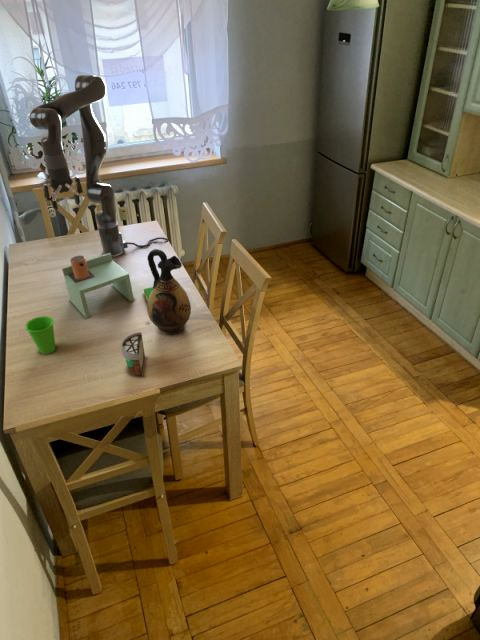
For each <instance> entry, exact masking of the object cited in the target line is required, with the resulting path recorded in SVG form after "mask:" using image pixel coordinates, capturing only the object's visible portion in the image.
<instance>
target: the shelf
mask: <svg viewBox="0 0 480 640" xmlns="http://www.w3.org/2000/svg"><path fill="white" fill-rule="evenodd" d="M86 263H87V268H88V272H89V277H88V278H86V279H82V280H77V279H75V277H74V273H73V269H72V265H71V264H70V265H67V266H63V267H61V271H62V274H63V279H64V282H65V286H66V289H67V293H68V296H69V300H70V302H71V303H72V304H73V305H74V306H75V308H76V309H77V310H78V312H80V313H81V315H83V316H84V318H85V319H88V318H90V317H91V314H90V310H89V307H88V301H87V298H86V295H85V294H87V293H89V292H92V291H95V290H98V289H101V288H104V287H107V286H110V285H112V286H113V288H115V289H116V290H117V292H119V293H120V294H121V295H122V296H123V297H125V298H126V299H127V300H128V301H129V302H132V301H133V302H134V301H135V299H134V294H133V288H132V282H131V277H130V273H128V271H126V270H125V269H124V268H123V267H121V266H120V265H119V264H117V262H115V261H114V260H113V257H112V256H111V253H108V254H105V255H103V254H101V255H99V256H96V257H92V258H89V259H86Z"/></svg>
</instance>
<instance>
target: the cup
mask: <svg viewBox="0 0 480 640" xmlns="http://www.w3.org/2000/svg"><path fill="white" fill-rule="evenodd" d="M54 322H55V321H54V319H53V318H52V317H51V316H48V315H47V316H46V315H41V316H37V317H34V318H32V319H30V320H29V321H27V322H26V323H25V326H24V329H25V330H26V331H27V332H28V334H29V335H30V337H31V339H32V340H33V342H34V344H35V346H36V347H37V350H38V351H39V352H40V353H41V354H43V355H48V354H51V353H53V352H54V351H55V350H56V339H55V338H56V337H55V330H54Z"/></svg>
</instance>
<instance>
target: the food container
mask: <svg viewBox="0 0 480 640" xmlns="http://www.w3.org/2000/svg"><path fill="white" fill-rule="evenodd" d="M120 353H121V355H122V356H123V357H124V359H125V363H126V365H127V369H128V372H129V373H130V375H132V376H135V377H144V370H145V363H146V354H145V347H144V341H143V334H142V331H139V332H134V333H132V334H130V335H128V336H126V337H125V338H124V339H123V340H122V342H121V345H120Z"/></svg>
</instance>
